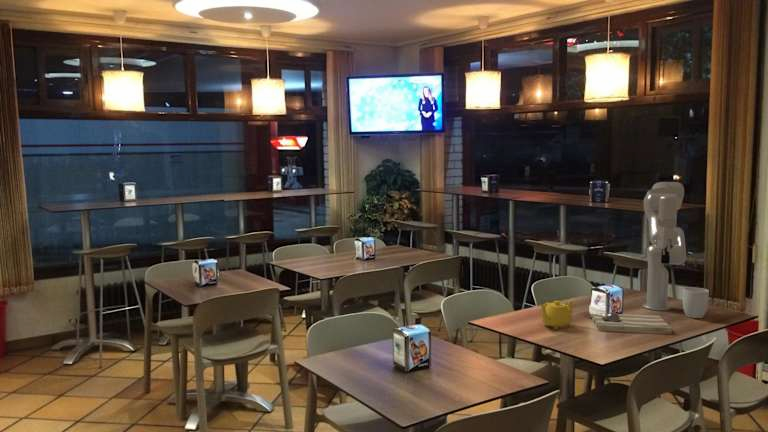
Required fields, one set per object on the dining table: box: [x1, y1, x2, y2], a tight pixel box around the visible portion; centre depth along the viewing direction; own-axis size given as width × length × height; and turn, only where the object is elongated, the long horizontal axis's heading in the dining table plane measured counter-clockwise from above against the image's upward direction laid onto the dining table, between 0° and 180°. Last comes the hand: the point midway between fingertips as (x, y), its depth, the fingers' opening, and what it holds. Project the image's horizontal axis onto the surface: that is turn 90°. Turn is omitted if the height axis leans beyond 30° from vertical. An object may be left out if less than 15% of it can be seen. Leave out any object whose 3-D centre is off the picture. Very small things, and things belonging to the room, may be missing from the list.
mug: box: [682, 286, 710, 319], centre depth 307 cm, size 15×11×13 cm
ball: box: [606, 311, 620, 322], centre depth 292 cm, size 6×6×6 cm
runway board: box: [590, 312, 673, 335], centre depth 292 cm, size 20×30×2 cm, turn 81°
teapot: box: [540, 298, 574, 330], centre depth 291 cm, size 20×15×12 cm
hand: (665, 263), depth 295 cm, fingers closed
